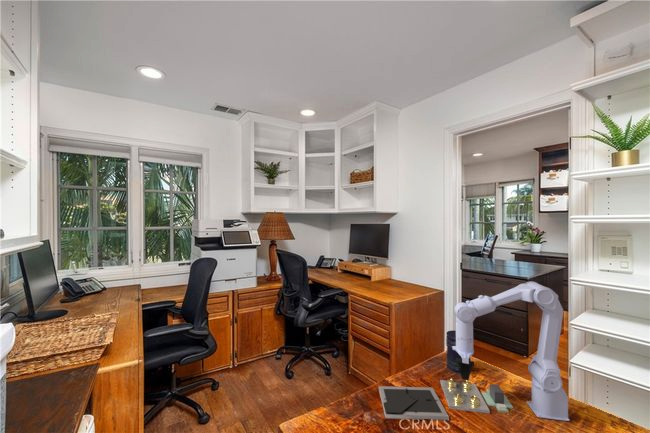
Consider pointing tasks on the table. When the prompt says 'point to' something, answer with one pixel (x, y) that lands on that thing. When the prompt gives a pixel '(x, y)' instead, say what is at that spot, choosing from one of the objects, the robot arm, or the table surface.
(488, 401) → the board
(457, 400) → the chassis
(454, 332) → the storage jar
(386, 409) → the picture frame
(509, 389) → the table surface
